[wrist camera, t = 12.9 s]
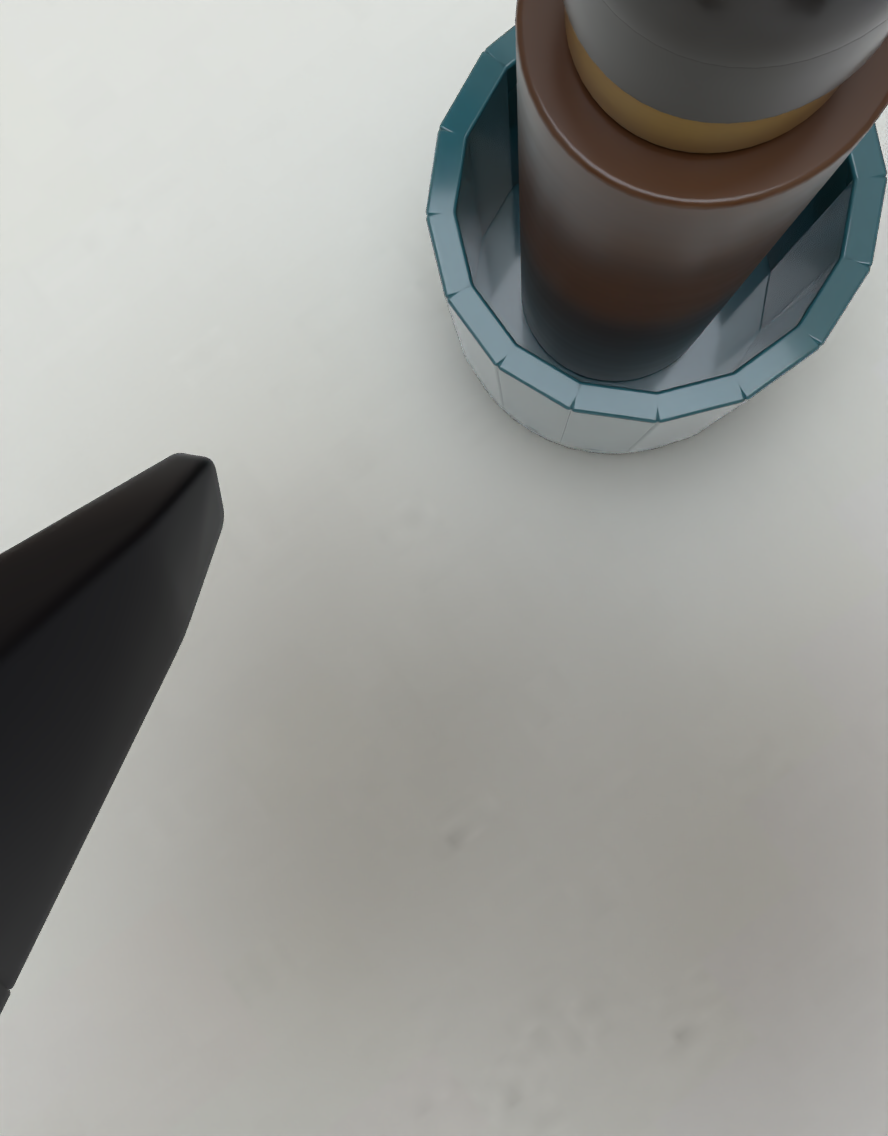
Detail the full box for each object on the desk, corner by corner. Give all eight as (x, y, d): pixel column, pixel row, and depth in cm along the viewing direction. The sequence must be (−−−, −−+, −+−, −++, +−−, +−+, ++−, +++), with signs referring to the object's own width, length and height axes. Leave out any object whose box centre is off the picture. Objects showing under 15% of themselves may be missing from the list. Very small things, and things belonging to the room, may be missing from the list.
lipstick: (734, 353, 17) (1282, -149, 5) (545, 403, 17) (591, 62, 5) (689, 166, 17) (1119, -836, 5) (501, 220, 17) (439, -568, 5)
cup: (816, 408, 17) (931, 354, 12) (497, 488, 18) (486, 467, 13) (739, 88, 17) (825, -95, 12) (422, 181, 18) (383, 44, 13)
